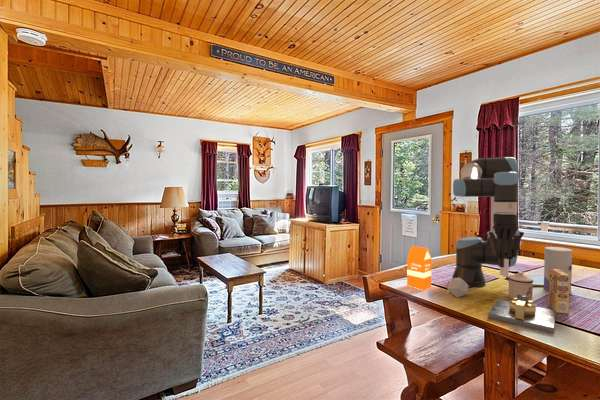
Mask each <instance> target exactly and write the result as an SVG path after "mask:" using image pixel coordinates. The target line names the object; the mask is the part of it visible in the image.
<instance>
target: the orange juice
mask: <svg viewBox="0 0 600 400" xmlns="http://www.w3.org/2000/svg"><path fill="white" fill-rule="evenodd" d="M406 258H407V261H406V263H407V265H406V267H407V268H406V275H407V276H406V286H407V285H409V286H412V287H416V288H419V289H422V290H421V291H423V290H424V291H426V290H428V289H427V288H429V289H431V288H432V257H431V254H430V250H429V248H427V247H420V246H416V245H415V246H414V245H411V247H410V250H409V252H408V255H407V257H406ZM430 287H431V288H430ZM419 289H418V290H419ZM425 289H426V290H425Z"/></svg>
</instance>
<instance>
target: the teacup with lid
mask: <svg viewBox="0 0 600 400" xmlns="http://www.w3.org/2000/svg"><path fill="white" fill-rule="evenodd" d="M507 278H508V297H509V298H510V299H512V300H513V298H517V295H518V294H521V295H526V296H528V297H529V301H533V291H534V289H533V285H534V284H533V283H534V279H533V278H532V277H530V276H527V275H526V274H524V272H523V271H518V272H517V273H515V274H511V275H509V277H507Z"/></svg>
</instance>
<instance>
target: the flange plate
mask: <svg viewBox="0 0 600 400" xmlns="http://www.w3.org/2000/svg"><path fill="white" fill-rule="evenodd" d="M517 300H520V301H526V303H525V305H526V304H528V301H529V297H528V296H526V295H521V294H518V295H517ZM556 313H557V312H556V311H555V310H554V309H549V308H545V307H540V306H536V314H535V315H525V317H524V320H522V319H518V318H515V312H512V311H511V310H510V300H504V299H499V298H498V299H496V300H495V303H494V304H493V305H492V307H491V308H490V310H489V312H488V315H487V316H488V317H487V318H488V319H490V320H493V321H498V322H503V323H506V324H511V325H515V326H518V327H523V328H528V329H531V330H536V331H541V332H545V333H549V334H554V333H555V324H556V323H555V322H556V317H557V314H556Z"/></svg>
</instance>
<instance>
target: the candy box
mask: <svg viewBox="0 0 600 400" xmlns="http://www.w3.org/2000/svg"><path fill="white" fill-rule="evenodd" d="M548 306H550V308H552V310H555V311H556V313H559V314H566V315H567V314H569V313H570V293H569V275H568V274H566V273H565V272H563V271H561V270H557V269H549V291H548Z"/></svg>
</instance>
